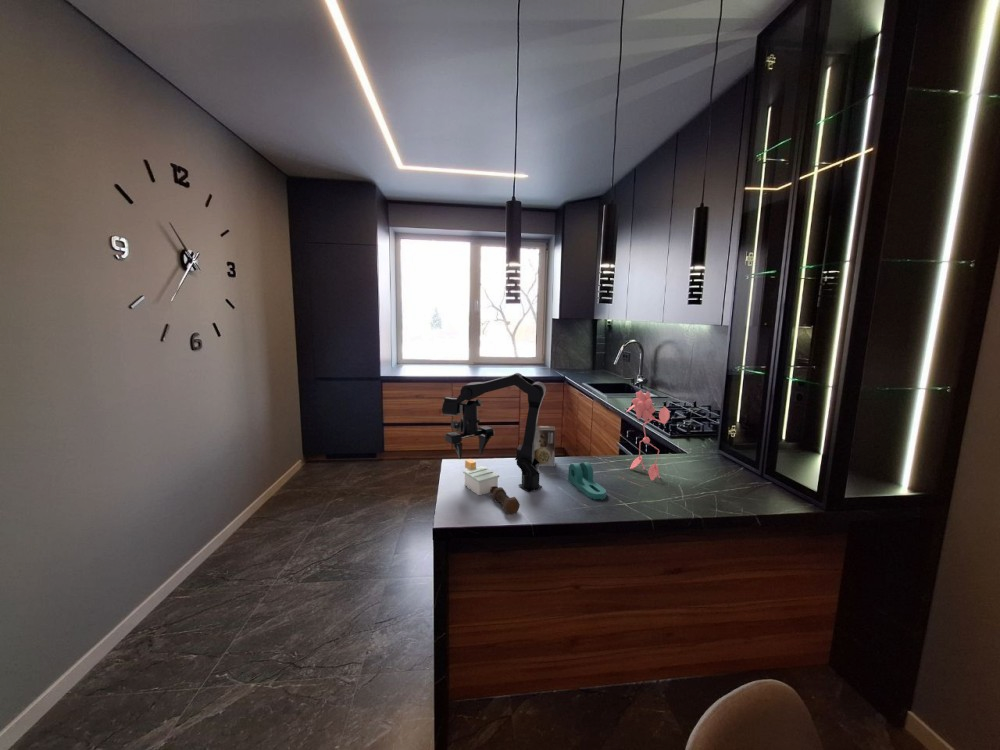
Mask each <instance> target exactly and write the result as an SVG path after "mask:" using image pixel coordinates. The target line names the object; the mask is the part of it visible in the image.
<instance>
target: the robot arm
mask: <svg viewBox="0 0 1000 750" xmlns="http://www.w3.org/2000/svg"><path fill="white" fill-rule="evenodd" d="M512 386H516V387H517V388H519V390H521V391H522V392H523V393H525V394H527V404H528V411H527V416H526V421H525V422H526V424H525V430H524V435H523V441H522V444H519V445H518V447H517V449H516V456H515V459H514V460H515V461H516V465H517V466H518V468H519V469H520V471H521V483H519V484H518V487H520V488H522V489H523V490H525V491H527V492H529V493H531V492H534V491H537V490H540V489H543V486H542V485H540V477H541V476H540V472H539V468H540V467H541V466H540V462H539V461H538V460H537V459H536V458H535V449H534V439H535V433H536V427H537V426H538V419H539V414H540V408H541V406H542V403H543V399H544V397H545V395H546V391H547V388H546V385H545V384H544V383H543V382H541V381H535V380H534V379H532V378H529V377H527V376H524V375H523V374H522V373H520V372H515V373H514V374H511V375H507V376H506V375H505V376H503V377H499V378H496V379H492V380H488V381H477V382H476V381H474V382H469V383H466V384H465V385H463V386H462V387H461V389H460V392H459V393H460V394H459V395H458V397H457V398H456V397H449V396H445V397H444V399H443V402H442V407H441V412H442V415H444V416H455V417H457V416H460V414H462V417H461V418H460V422H459V421H458V420H452V421H450V428H451V430H455V431H452V432H446V434H445V436H444V441H446V442H447V443H449V444H451V445H452V446H453V447H454V449H455V452H456V454H457V457H458V459H459V460H461V459H462V455H463V454H462V453H463V442H462V440H463V439H467V438H472V437H478V452H479V453H478V454H479V455H483V452H484V450H485V448H486V446H487V444H488V442H489V441H490V439H492V437H494V436H495V430H494V428H493V427H490V426H488V425H483V426H479V427H478V425H479V423H480V419H479V417H478V415H479V414H478V412H479V411H478V410H479V409H478V408H479V407H481V406H482V405H484V402H483V401H481V399H480V398H479V397H480V396H482V395H484V394H485V393H489V392H493V391H497V390H500V389H504V388H509V387H512ZM475 398H476V400H474V399H475ZM458 432H460V433H458Z"/></svg>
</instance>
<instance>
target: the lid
mask: <svg viewBox="0 0 1000 750" xmlns="http://www.w3.org/2000/svg"><path fill="white" fill-rule="evenodd" d="M464 463H465V465H464V467H465V470H463V474H464V475H465V474H466V475H467V476H469V477H471V478H472V479H474V480H475V481H477V482H478V483H480V482H484V481H487V480H491V479H495V478H498V479H499V478H500V474H498V473H497V472H494V471H493V470H491V469H490V468H488V467H486V466H484V465H481V466H477V462H476V461H475V460H473V459H472V458H469V459H465V462H464Z"/></svg>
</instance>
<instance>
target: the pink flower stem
mask: <svg viewBox="0 0 1000 750" xmlns="http://www.w3.org/2000/svg"><path fill="white" fill-rule="evenodd" d="M631 403H632V405H631V406H630V407H629V408H628V409H627V410H626V411H625V413H628V412H631V410H634V412H635V415H636V418H637V420H640V419H642V420H643V421H644V423H643V424H642V428H643V433H644V437H643V438H642V440H640V441H639V445H638V446H639V449H638V457H636V458H635V459H634V460H633V462H632V463H631V464H630V468H629V469H630V470H633V469H635V468H637V467H638V466H639V465H640V464H641V466H642V468H643V470H644V471H645V470H646V468H645V465H644V463H643V457H642V455H641V443H642V442H643V443H644V444H648V445H650V446H651V447H653V448H654V449H655V450H657V454H656V458H655V461H654V463H653V464H651V465H650V466H649V469H648V477H649V479H650V480H651V482H653V481H654V480H655V479H657V478H658V479H661V477H660V471H659V466H658V465H657V462H658V457H659V453H660V449H659V448H657V447H656V446H654V445H653V444H652V443H650V441H651V439H650V438H649V436H647V434H646V433H647V432H646V429H645V425H646V424H648V423H650V422H651V421H656V422H658V423H661V424H662V425H664V426H665V425H666V424H667V422H668V421H669V420H670V415H671V414H670V410H669V408H667V407H666V406H663V408H660V411H659V412H658V418H659V419H656V417H655V416H653V414H654V413H655V412H656V408H655V407H654V406H653V400H652V399H651V394H650V391H646V393H644V392H643V390H641V389H640V390H639V391H636V392H635V398H633V399H632V400H631ZM621 478H622V479H623V480H626V481H628V482H629V480H628V479H626V478H624V477H623V476H621ZM631 483H632V484H634V485H638V486H639V485H640V486H642V484H641V483H636V482H633V481H631ZM643 486H645V487H647V485H645V484H643Z"/></svg>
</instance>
